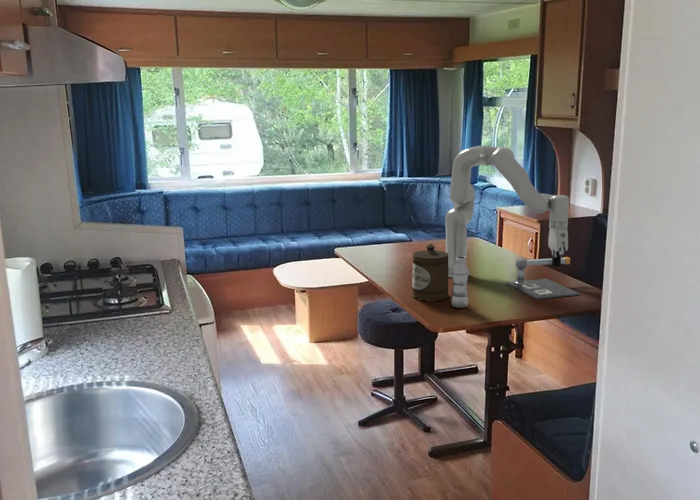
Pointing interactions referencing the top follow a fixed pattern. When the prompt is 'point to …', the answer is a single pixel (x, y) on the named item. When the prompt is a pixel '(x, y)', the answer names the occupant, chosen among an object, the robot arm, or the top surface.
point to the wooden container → (430, 274)
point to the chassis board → (544, 284)
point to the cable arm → (539, 262)
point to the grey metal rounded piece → (520, 277)
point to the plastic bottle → (459, 283)
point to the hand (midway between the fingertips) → (556, 265)
